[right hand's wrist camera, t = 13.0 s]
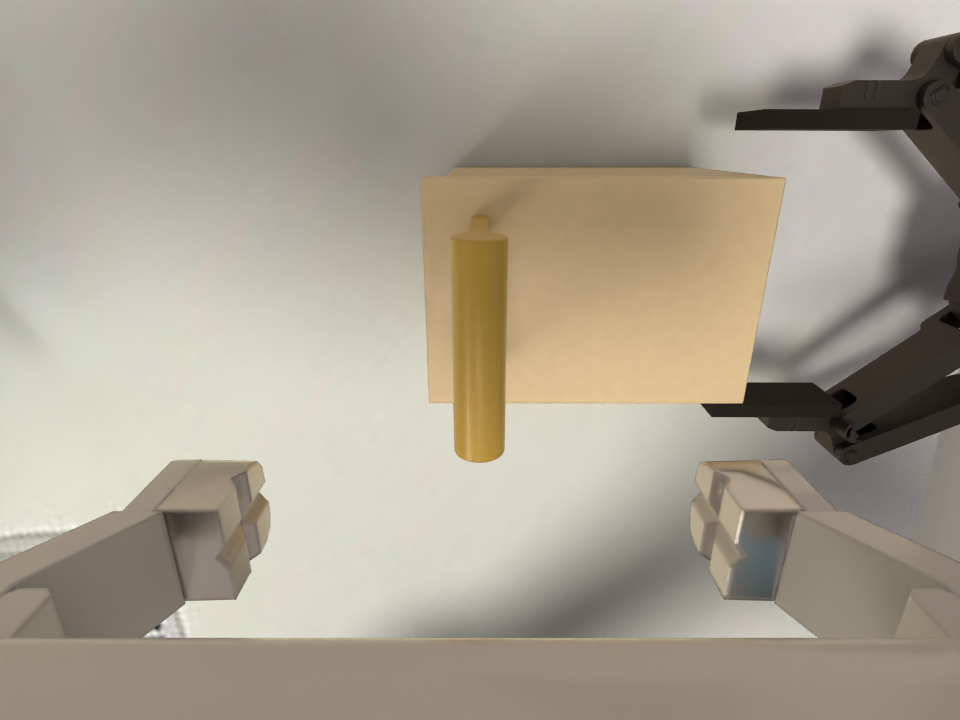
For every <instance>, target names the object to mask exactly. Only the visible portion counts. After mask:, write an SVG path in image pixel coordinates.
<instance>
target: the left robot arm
mask: <svg viewBox="0 0 960 720" xmlns="http://www.w3.org/2000/svg"><path fill="white" fill-rule="evenodd" d="M910 61H911V67H910V69H909V71H908V72H907V73H906V75H905V76H904V77H903V78H902V79H900V80H880V81H878V80H855V81H849V82H843V83H837V84H834V85H831V86H829V87H826V88H824V89H823V94H822V99H821V103H820V108H819V109H763V110H755V111H747V112H739V113H737V119H736V125H735V130H805V131H882V130H903V131H904V132H905V133H906V134H907V136H908V137H909V138H910V139H911V140H912V142H913V143H914V144H915V145H916V146H917V148H918V149H919V150H920V151H921V153H922V154H923V155H924V156H925V157H926V159H927V160H928V161H929V162H930V163H931V165H932V166H933V167H934V168H935V169H936V171H937V172H938V173H939V174H940V176H941V177H942V178H943V179H944V180H945V182H946V183H947V184H948V185H949V186H950V188H951V189H952V190H953V191H954V192H955V194H956V195H957V196H958V197H959V199H960V32H959V33H955V34H951V35H946V36H942V37H938V38H934V39H929V40H925V41H923V42H921V43H919V44H918V45H917V46H916V47H915V48H914V50H913V52H912V54H911V59H910ZM958 206H959V207H960V202H959V203H958ZM943 299H945V300H948V301H949V305H948V306H946V307H945V308H943V309H942V310H940V311H939V312H937V313H935V314H934V315H932V316H931V317H929V318H928V319H926V320H925V321H923V322H922V323H921V325H920V326H921V330H920V331H919V332H917V333H916V334H914V335H913V336H911V337H910V338H908V339H907V340H905V341H903V342H902V343H900V344H899V345H897V346H896V347H894V348H893V349H891V350H889V351H888V352H886V353H885V354H883V355H882V356H880V357H879V358H877V359H875V360H874V361H872V362H871V363H869V364H868V365H866V366H864V367H863V368H861V369H860V370H858V371H857V372H855V373H854V374H852V375H850V376H849V377H847V378H846V379H844V380H843V381H841V382H840V383H838V384H836V385H835V386H833V387H832V388H830V389H829V390H827V391H826V392H825V391H823V390H822V389H820V388H819V387H818V386H816V385H815V384H813V383H747V384H746V390H745V395H744V400H743V403H700V404H701V405H702V406H703V407H704V408H705V410H706V411H707V412H708V413H709V414H710V416H711V417H758V418H759V419H760V420H761V421H762V422H763V423H764V424H765V425H766V426H767V427H768V428H770V429H773V430H775V431H815V433H814V438H815V439H816V441H817V442H818V443H820V444H821V445H822V446H823V447H824V448H825V449H826V450H828V451H829V452H830V453H831V454H832V455H833V456H834V457H835V458H837V459H838V460H839V461H840V462H841V463H843V464H844V465H853V464H856V463H859V462H861V461H864V460H867V459H869V458H872V457H874V456H877V455H880V454H882V453H885V452H888V451H890V450H893V449H896V448H898V447H901V446H903V445H906V444H909V443H911V442H914V441H917V440H919V439H922V438H925V437H927V436H930V435H932V434H935V433H938V432H940V431H943V430H945V429H948V428H951V427H953V426H956V425H959V424H960V374H955V375H951V376H947V375H949V374H950V373H952V372H954V371H955V370H957V369H958V368H960V329H959V328H960V248H959V251H958V258H957V270H956V272H955V273H954V275H953V277H952V278H951V280H950V282H949V283H948V286H947V289H946V292H945V295H944V298H943ZM945 376H947V377H945ZM844 408H845V409H844Z"/></svg>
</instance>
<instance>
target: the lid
mask: <svg viewBox="0 0 960 720" xmlns="http://www.w3.org/2000/svg"><path fill="white" fill-rule="evenodd" d="M785 181H786V179H785V178H781V177H772V176H425V177H423V178H421V201H422V228H423V255H424V282H425V308H426V335H427V362H428V389H429V403H454V449H455V452H456V454H457V455H458V456H459V457H460V458H462V459H464V460H466V461H470V462H478V463H481V462H489V461H493V460H495V459H497V458H499V457H500V456H501V455H502V454H503V452H504V446H505V403H743V400H744V395H745V390H746V384H747V379H748V374H749V369H750V364H751V358H752V353H753V348H754V343H755V338H756V332H757V327H758V322H759V317H760V312H761V306H762V301H763V296H764V291H765V285H766V280H767V275H768V270H769V265H770V259H771V254H772V249H773V244H774V239H775V233H776V228H777V223H778V218H779V213H780V207H781V202H782V197H783V192H784V186H785Z"/></svg>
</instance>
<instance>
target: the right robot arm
mask: <svg viewBox="0 0 960 720" xmlns="http://www.w3.org/2000/svg"><path fill="white" fill-rule="evenodd" d="M264 483H265V478H264V473H263V468H262V466H261V464H260V463H259V462H258V461H234V460H176V461H171V462H170V463H169V464H168V465H167V466H166V467H165V468H164V469H163V470H162V471H161V472H160V473H159V474H158V475H157V476H156V477H155V478H154V479H153V480H152V481H151V482H150V484H149V485H148V486H147V487H146V488H145V489H144V490H143V491H142V492H141V493H140V494H139V495H138V496H137V497H136V498H135V499H134V500H133V501H132V502H131V503H130V504H129V505H128V506H127V507H126V508H125V509H124V510H123V511H113V512H110V513H108V514H106V515H104V516H102V517H99V518H97V519H95V520H93V521H90V522H88V523H86V524H84V525H82V526H79V527H77V528H75V529H73V530H70V531H68V532H66V533H64V534H62V535H59V536H57V537H55V538H53V539H50V540H48V541H46V542H44V543H42V544H39V545H37V546H35V547H33V548H31V549H28V550H26V551H24V552H22V553H19V554H17V555H15V556H13V557H11V558H8V559H6V560H4V561H2V562H0V720H960V562H958V561H956V560H954V559H951V558H949V557H947V556H945V555H943V554H940V553H938V552H936V551H934V550H931V549H929V548H927V547H925V546H923V545H920V544H918V543H916V542H914V541H912V540H909V539H907V538H905V537H903V536H900V535H898V534H896V533H894V532H892V531H889V530H887V529H885V528H883V527H881V526H878V525H876V524H874V523H872V522H870V521H867V520H865V519H863V518H861V517H858V516H856V515H854V514H852V513H850V512H847V511H837V510H836V509H835V508H834V507H833V506H832V505H831V504H830V503H829V502H828V501H827V500H826V499H825V498H824V497H823V496H822V495H821V494H820V493H819V492H818V491H817V490H816V488H815V487H814V486H813V485H812V484H811V483H810V482H809V481H808V480H807V479H806V478H805V477H804V476H803V475H802V474H801V473H800V472H799V471H798V470H797V469H796V468H795V467H794V466H793V465H792V464H791V463H790V462H788V461H785V460H783V459H778V460H752V461H712V462H700V464H699V466H698V469H697V472H696V478H695V483H696V484H697V486H698V487H699V489H700V491H701V493H700V494H699V495H698V496H697V497H696V498H695V499H694V500H693V501H692V502H691V509H690V517H689V518H690V530H691V535H692V538H693V541H694V544H695V546H696V548H697V550H698V552H699V553H700V554H701V555H703V556H704V557H706V558H707V559H709V560H710V567H709V573H710V574H711V576H712V578H713V580H714V582H715V584H716V585H717V587H718V589H719V591H720V593H721V595H722V596H723V598H724V600H759V601H775V604H776V605H777V606H779V607H780V608H781V609H782V610H784V611H785V612H786V613H787V614H789V615H790V616H791V617H793V618H794V619H795V620H796V621H798V622H799V623H800V624H801V625H803V626H804V627H805V628H806V629H808V630H809V631H810V632H811V633H813V634H814V635H815V636H817V637H818V638H142V637H144V636H145V635H146V634H147V633H149V632H150V631H151V630H153V629H154V628H155V627H156V626H158V625H159V624H160V623H161V622H163V621H164V620H165V619H166V618H168V617H169V616H170V615H172V614H173V613H174V612H175V611H177V610H178V609H179V608H180V607H182V606H183V605H184V604H185V601H200V600H235V599H236V598H237V597H238V595H239V593H240V591H241V589H242V587H243V585H244V584H245V582H246V580H247V578H248V576H249V574H250V573H251V566H250V560H251V559H253V558H254V557H256V556H257V555H259V554H260V553H261V552H262V550H263V548H264V546H265V544H266V542H267V538H268V534H269V529H270V508H269V502H268V501H267V500H266V499H265V498H264V497H263V496H262V495H261V494H260V493H259V491H260V489H261V487H262V486H263V484H264Z"/></svg>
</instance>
